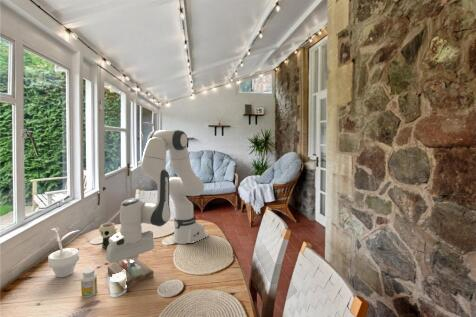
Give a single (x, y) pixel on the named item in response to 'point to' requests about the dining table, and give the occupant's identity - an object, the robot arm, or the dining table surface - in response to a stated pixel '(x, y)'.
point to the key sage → (136, 271)
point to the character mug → (107, 233)
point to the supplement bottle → (88, 283)
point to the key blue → (130, 268)
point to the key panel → (131, 281)
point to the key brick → (125, 264)
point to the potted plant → (63, 257)
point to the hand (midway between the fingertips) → (131, 265)
